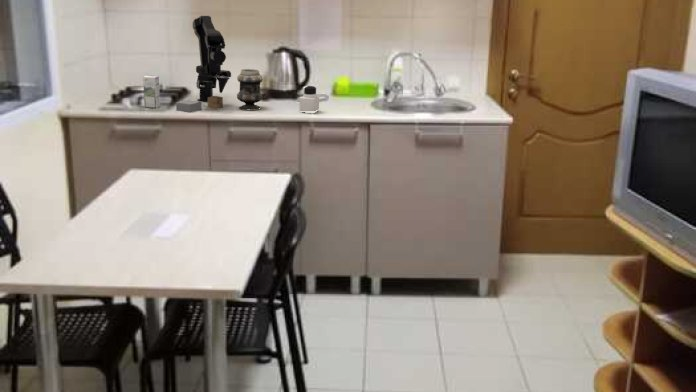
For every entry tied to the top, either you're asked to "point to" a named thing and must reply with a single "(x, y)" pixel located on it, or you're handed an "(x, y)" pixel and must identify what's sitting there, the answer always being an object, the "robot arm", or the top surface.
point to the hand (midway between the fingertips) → (215, 94)
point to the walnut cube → (215, 102)
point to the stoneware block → (188, 106)
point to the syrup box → (151, 91)
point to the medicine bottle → (309, 99)
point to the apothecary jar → (249, 88)
